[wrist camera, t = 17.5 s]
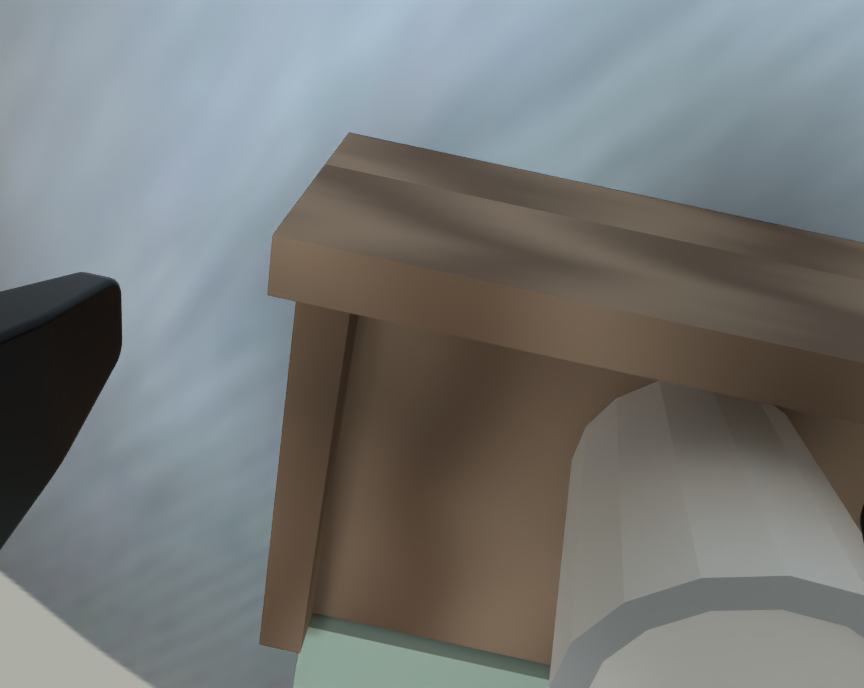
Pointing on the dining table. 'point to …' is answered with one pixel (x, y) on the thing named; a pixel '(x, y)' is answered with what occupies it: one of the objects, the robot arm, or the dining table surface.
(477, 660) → the tailgate
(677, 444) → the shot glass
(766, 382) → the tray
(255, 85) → the dining table surface
